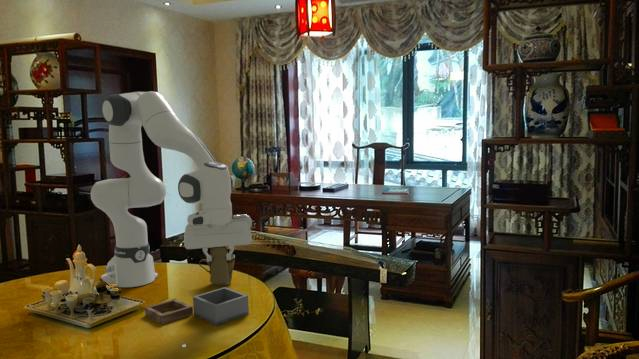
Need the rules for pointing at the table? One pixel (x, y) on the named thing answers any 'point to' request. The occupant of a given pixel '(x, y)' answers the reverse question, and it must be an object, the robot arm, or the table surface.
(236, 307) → the bin
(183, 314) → the socket collar
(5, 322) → the table surface
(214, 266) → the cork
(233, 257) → the ceramic cup
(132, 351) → the table surface
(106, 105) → the robot arm
